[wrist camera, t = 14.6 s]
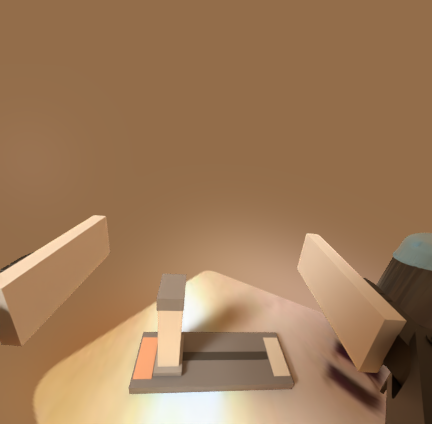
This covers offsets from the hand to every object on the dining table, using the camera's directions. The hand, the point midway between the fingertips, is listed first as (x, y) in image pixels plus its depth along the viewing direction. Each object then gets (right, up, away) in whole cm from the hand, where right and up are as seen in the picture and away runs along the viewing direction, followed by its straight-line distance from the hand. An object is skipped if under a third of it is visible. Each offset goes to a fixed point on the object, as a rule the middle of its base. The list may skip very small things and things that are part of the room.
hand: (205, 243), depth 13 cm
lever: (-7, -21, +18) cm, 28 cm away
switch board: (0, -23, +20) cm, 30 cm away
